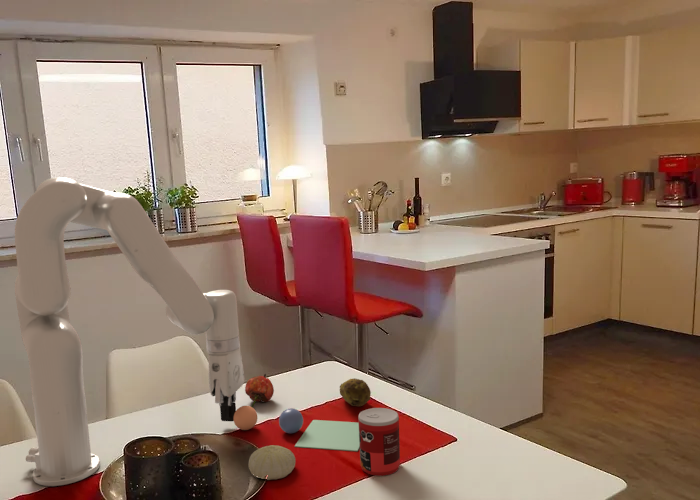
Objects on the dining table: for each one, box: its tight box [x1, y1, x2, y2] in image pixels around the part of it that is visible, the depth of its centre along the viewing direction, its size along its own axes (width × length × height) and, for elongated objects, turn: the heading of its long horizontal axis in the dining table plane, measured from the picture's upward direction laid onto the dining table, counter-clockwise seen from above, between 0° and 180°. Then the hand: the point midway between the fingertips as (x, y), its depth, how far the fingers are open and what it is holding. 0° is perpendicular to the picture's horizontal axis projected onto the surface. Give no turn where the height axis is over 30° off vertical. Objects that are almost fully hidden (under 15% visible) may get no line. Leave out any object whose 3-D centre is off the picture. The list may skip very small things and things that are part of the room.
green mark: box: [294, 419, 360, 452], centre depth 142 cm, size 14×14×1 cm
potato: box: [339, 378, 372, 407], centre depth 158 cm, size 8×13×8 cm, turn 175°
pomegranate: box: [244, 373, 275, 408], centre depth 163 cm, size 7×7×10 cm
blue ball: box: [278, 407, 304, 434], centre depth 144 cm, size 6×6×6 cm
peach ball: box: [233, 405, 258, 431], centre depth 147 cm, size 6×6×6 cm
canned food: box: [358, 407, 401, 477], centre depth 126 cm, size 8×8×11 cm
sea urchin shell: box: [247, 444, 296, 481], centre depth 126 cm, size 9×8×8 cm
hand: (228, 419), depth 148 cm, fingers closed
